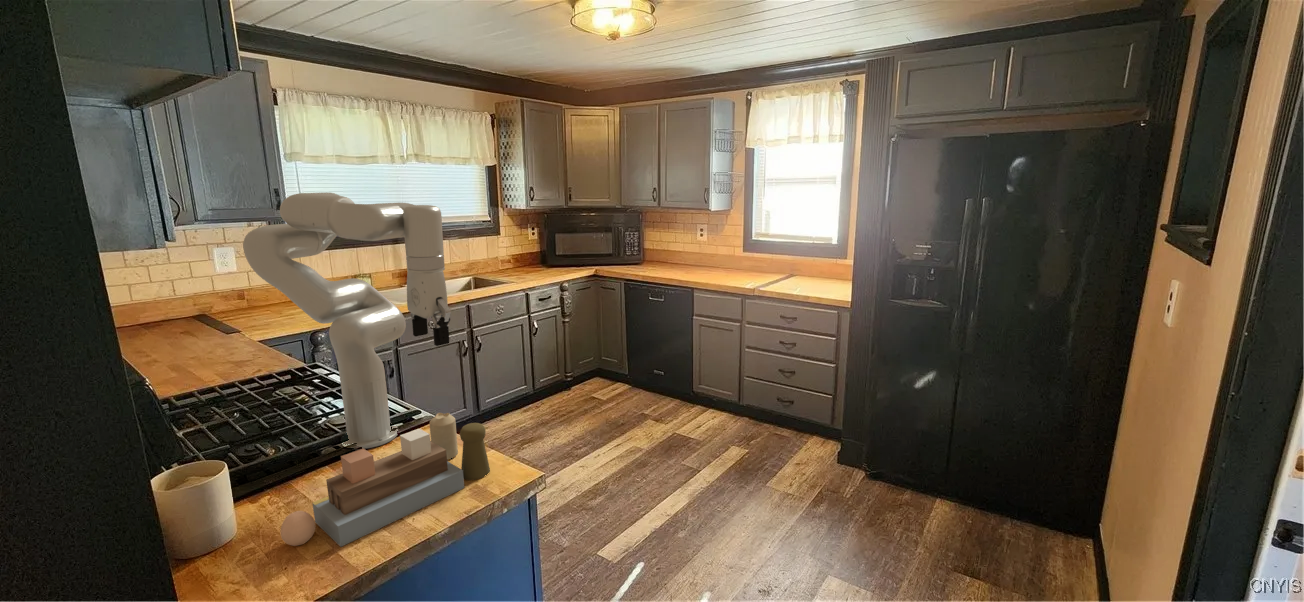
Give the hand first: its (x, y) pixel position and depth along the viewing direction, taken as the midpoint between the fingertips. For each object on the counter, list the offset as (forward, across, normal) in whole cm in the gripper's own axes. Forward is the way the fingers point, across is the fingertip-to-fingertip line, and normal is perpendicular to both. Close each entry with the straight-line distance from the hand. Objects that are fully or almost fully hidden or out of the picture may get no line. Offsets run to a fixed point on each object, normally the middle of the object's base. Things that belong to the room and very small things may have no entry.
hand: (431, 339), depth 122 cm
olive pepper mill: (+27, +15, +1) cm, 31 cm away
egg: (+27, +14, -32) cm, 44 cm away
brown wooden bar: (+23, +14, -16) cm, 31 cm away
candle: (+27, +3, 0) cm, 27 cm away
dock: (+27, +14, -16) cm, 34 cm away
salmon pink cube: (+18, +14, -22) cm, 32 cm away
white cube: (+18, +13, -11) cm, 25 cm away
